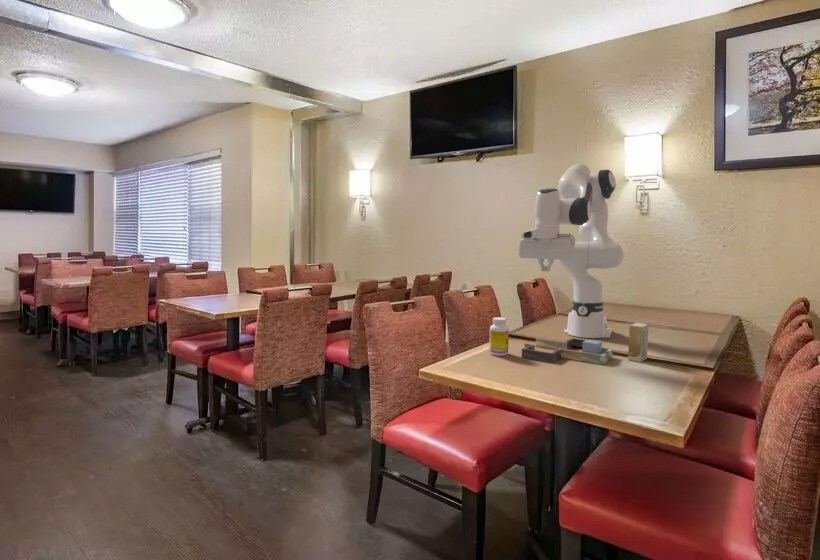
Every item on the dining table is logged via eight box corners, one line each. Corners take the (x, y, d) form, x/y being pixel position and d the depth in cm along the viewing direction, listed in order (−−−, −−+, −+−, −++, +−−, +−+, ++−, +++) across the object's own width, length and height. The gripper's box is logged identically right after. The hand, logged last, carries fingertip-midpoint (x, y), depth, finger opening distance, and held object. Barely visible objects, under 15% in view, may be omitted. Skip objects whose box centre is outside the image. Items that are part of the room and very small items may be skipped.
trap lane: (544, 341, 189) (545, 334, 189) (618, 352, 173) (618, 344, 172) (514, 356, 168) (515, 347, 168) (595, 370, 151) (596, 361, 151)
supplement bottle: (508, 356, 167) (509, 320, 166) (489, 355, 169) (489, 319, 167) (508, 352, 174) (509, 317, 172) (489, 351, 175) (490, 316, 174)
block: (586, 356, 169) (587, 339, 168) (601, 358, 166) (601, 341, 165) (581, 359, 165) (582, 341, 164) (596, 361, 162) (597, 344, 161)
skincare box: (634, 356, 168) (636, 322, 166) (647, 359, 164) (649, 323, 163) (627, 360, 163) (628, 324, 162) (640, 362, 160) (642, 326, 159)
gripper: (578, 233, 171) (576, 272, 173) (524, 233, 184) (523, 269, 185) (572, 233, 166) (570, 273, 168) (517, 233, 179) (516, 270, 180)
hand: (545, 271), depth 177 cm, fingers closed
